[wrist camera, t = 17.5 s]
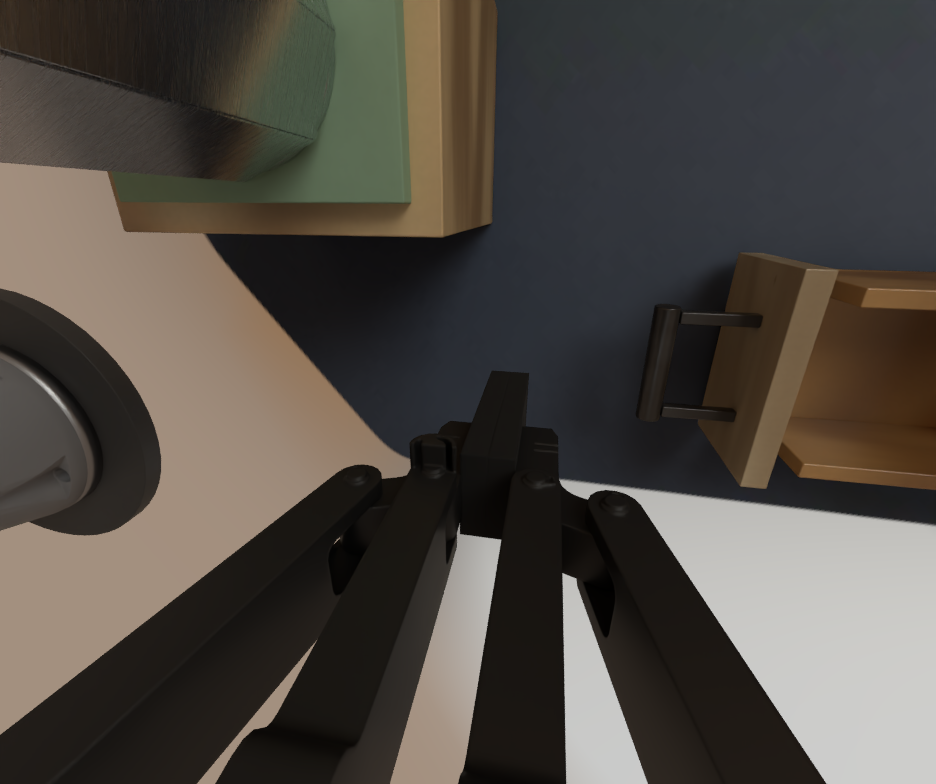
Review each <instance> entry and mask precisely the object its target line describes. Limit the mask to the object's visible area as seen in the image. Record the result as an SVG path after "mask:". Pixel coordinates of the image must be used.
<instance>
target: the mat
mask: <svg viewBox="0 0 936 784" xmlns="http://www.w3.org/2000/svg"><path fill="white" fill-rule="evenodd" d="M326 2H327V6H328V9H329V13H330V17H331V19H332V21H333V24H334V26H335V29H336V30H335V32H336V38H335V43H334V46H335V75H334V82H333V89H332V94H331V98H330V102H329V106H328V109H327V112H326V114H325V117H324V119H323V122H322V124H321V126H320V128H319V129H318V131H317V135H316V139H314V142H313V143H311V144H309V145H308V146H307V147H306V148H305V149H304V150H303V151H302V152H301V153H300V154H299V155H298V156H297V157H295V158H294V159H293V160H291V161H290V162H289V163H287V164H285V165H283V166H281V167H279V168H277V169H275V170H271V171H268V172H265V173H262V174H260V175H258V176H257V177H255V178H253V179H252V180H250V181H248V182H237V181H224V180H212V179H200V178H187V177H175V176H163V175H150V174H138V173H126V172H113V171H111V172H112V176H113V179H114V183H115V186H116V190H117V193H118V197H119V200H120V201H121V202H178V203H353V204H410V203H411V178H410V154H409V130H408V106H407V82H406V58H405V34H404V10H403V0H326Z"/></svg>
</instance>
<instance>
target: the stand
mask: <svg viewBox="0 0 936 784" xmlns="http://www.w3.org/2000/svg"><path fill="white" fill-rule="evenodd" d="M403 10H404V34H405V58H406V82H407V106H408V130H409V154H410V178H411V203H410V204H353V203H178V202H121V201H120V200H119V197H118V193H117V190H116V186H115V183H114V179H113V176H112V172H111V171H107V172H108V175H109V179H110V182H111V186H112V189H113V193H114V196H115V200H116V203H117V207H118V210H119V214H120V217H121V221H122V224H123V227H124V230H125V231H126V232H162V233H163V232H164V233H218V234H273V235H328V236H384V237H439V238H442V237H445V236H449V235H453V234H456V233H460V232H463V231H467V230H470V229H474V228H477V227H481V226H484V225H488V224H491V223H492V203H493V164H494V126H495V87H496V48H497V9H496V5H495V1H494V0H403Z"/></svg>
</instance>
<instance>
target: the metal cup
mask: <svg viewBox="0 0 936 784" xmlns="http://www.w3.org/2000/svg"><path fill="white" fill-rule="evenodd" d="M335 30H336V29H335V26H334V24H333V21H332V19H331V17H330V13H329V9H328V6H327V2H326V0H0V162H2V163H15V164H27V165H39V166H51V167H64V168H76V169H89V170H101V171H113V172H126V173H138V174H150V175H163V176H175V177H187V178H200V179H212V180H224V181H237V182H248V181H250V180H252V179H253V178H255V177H257V176H258V175H260V174H262V173H265V172H268V171H271V170H275V169H277V168H279V167H281V166H283V165H285V164H287V163H289V162H290V161H291V160H293V159H294V158H295V157H297V156H298V155H299V154H300V153H301V152H302V151H303V150H304V149H305V148H306V147H307V146H308V145H309V144H311V143H313V142H314V139H316V135H317V131H318V129H319V128H320V126H321V124H322V122H323V119H324V117H325V114H326V112H327V109H328V106H329V102H330V98H331V94H332V89H333V82H334V75H335V46H334V43H335V38H336V32H335Z"/></svg>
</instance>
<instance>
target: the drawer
mask: <svg viewBox="0 0 936 784" xmlns="http://www.w3.org/2000/svg"><path fill="white" fill-rule="evenodd" d="M678 323H680V324H687V325H709V326H721V329H720V333H719V338H718V342H717V346H716V350H715V354H714V358H713V362H712V367H711V371H710V375H709V379H708V383H707V387H706V391H705V396H704V400H703V404H702V406H699V405H686V404H672V403H663V398H664V393H665V388H666V383H667V378H668V373H669V368H670V363H671V358H672V353H673V348H674V343H675V338H676V333H677V328H678ZM660 415H661V416H662V417H674V418H687V419H699V420H698V425H699V427H700V428H701V430H702V431H703V432H704V434H705V435H706V437H707V438H708V440H709V441H710V443H711V444H712V446H713V447H714V449H715V450H716V452H717V453H718V455H719V456H720V457H721V459H722V460H723V462H724V463H725V465H726V466H727V468H728V469H729V471H730V472H731V474H732V475H733V477H734V478H735V480H736V481H737V482H738V484H739V485H740V486H742V487H752V488H762V489H766V487H767V484H768V481H769V478H770V475H771V472H772V469H773V466H774V463H775V460H776V457H777V454H778V455H779V456H780V457H781V459H782V460H783V461H784V462H785V463H786V464H787V465H788V466H789V467H790V468H791V469H792V470H793V472H794V473H795V474H796V475H797V476H798V477H803V478H813V479H824V480H834V481H845V482H856V483H866V484H877V485H888V486H898V487H909V488H920V489H930V490H936V272H920V271H881V270H843V269H833V268H828V267H824V266H819V265H815V264H810V263H805V262H801V261H796V260H792V259H787V258H783V257H778V256H773V255H769V254H764V253H739V255H738V259H737V263H736V267H735V271H734V276H733V280H732V284H731V288H730V292H729V296H728V300H727V305H726V309H725V312H719V311H694V310H681V307H680V306H677V305H672V304H657V305H655V307H654V313H653V319H652V324H651V330H650V336H649V341H648V347H647V353H646V358H645V364H644V370H643V375H642V381H641V387H640V392H639V398H638V404H637V409H636V417H637V418H639V419H641V420H644V421H649V422H654V421H658V420H659V418H660Z"/></svg>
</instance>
